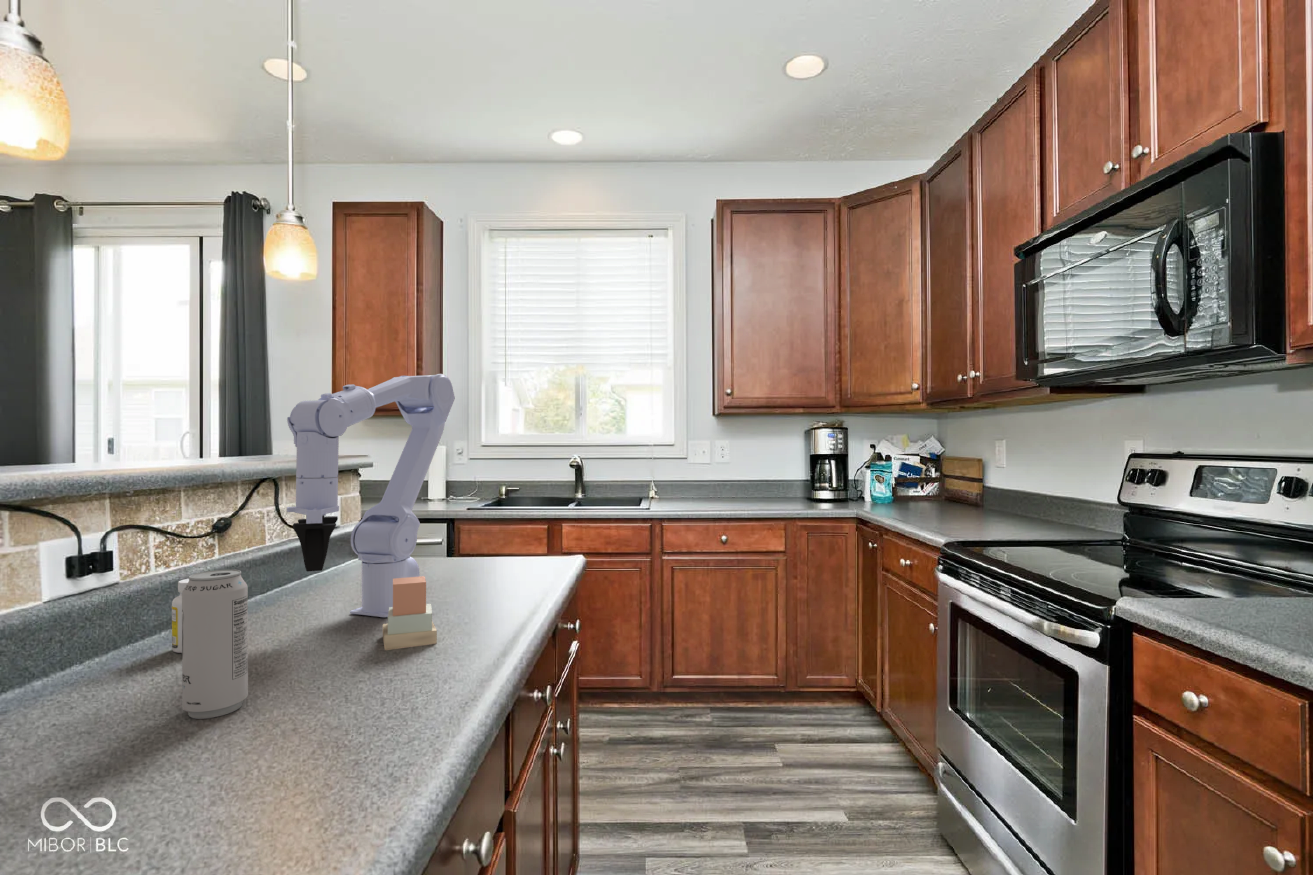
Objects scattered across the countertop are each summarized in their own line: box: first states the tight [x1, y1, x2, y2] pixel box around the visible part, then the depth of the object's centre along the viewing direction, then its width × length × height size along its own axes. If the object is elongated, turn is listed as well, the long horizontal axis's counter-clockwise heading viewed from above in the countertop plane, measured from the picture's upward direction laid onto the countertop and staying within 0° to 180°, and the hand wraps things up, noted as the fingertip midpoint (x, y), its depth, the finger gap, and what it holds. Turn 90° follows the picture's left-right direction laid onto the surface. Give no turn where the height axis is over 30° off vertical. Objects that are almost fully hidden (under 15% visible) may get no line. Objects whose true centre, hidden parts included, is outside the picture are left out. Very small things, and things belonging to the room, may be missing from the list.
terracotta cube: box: [393, 575, 427, 616], centre depth 96 cm, size 4×4×4 cm
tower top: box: [387, 603, 433, 635], centre depth 96 cm, size 6×6×2 cm
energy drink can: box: [181, 569, 249, 720], centre depth 72 cm, size 6×6×15 cm
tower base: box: [382, 620, 438, 651], centre depth 96 cm, size 7×7×2 cm
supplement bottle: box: [171, 578, 189, 654], centre depth 93 cm, size 5×5×10 cm
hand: (315, 566), depth 99 cm, fingers open, 7 cm apart
